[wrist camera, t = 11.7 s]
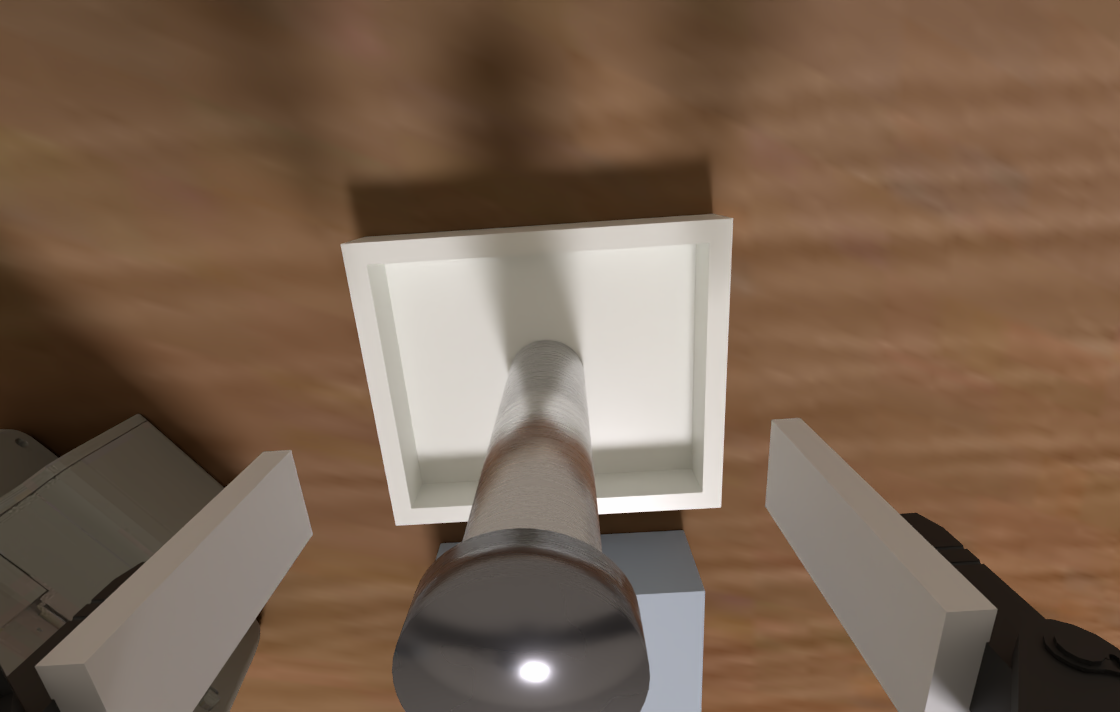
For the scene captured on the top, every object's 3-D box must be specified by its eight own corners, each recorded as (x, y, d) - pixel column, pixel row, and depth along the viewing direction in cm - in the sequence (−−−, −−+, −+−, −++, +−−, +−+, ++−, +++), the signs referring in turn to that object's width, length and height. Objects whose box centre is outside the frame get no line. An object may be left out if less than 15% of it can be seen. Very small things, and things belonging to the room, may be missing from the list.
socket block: (469, 717, 30) (456, 796, 26) (440, 543, 26) (420, 606, 22) (680, 707, 29) (698, 785, 26) (683, 530, 26) (704, 591, 22)
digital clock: (-27, 422, 24) (-457, 601, 14) (126, 338, 22) (-224, 468, 12) (202, 663, 28) (7, 928, 18) (340, 604, 27) (211, 855, 17)
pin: (480, 343, 22) (348, 613, 8) (581, 312, 21) (610, 549, 8) (515, 432, 23) (448, 787, 10) (610, 406, 23) (676, 740, 9)
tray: (411, 492, 25) (395, 525, 23) (364, 236, 21) (340, 244, 19) (705, 475, 25) (720, 507, 22) (713, 213, 21) (733, 218, 18)
